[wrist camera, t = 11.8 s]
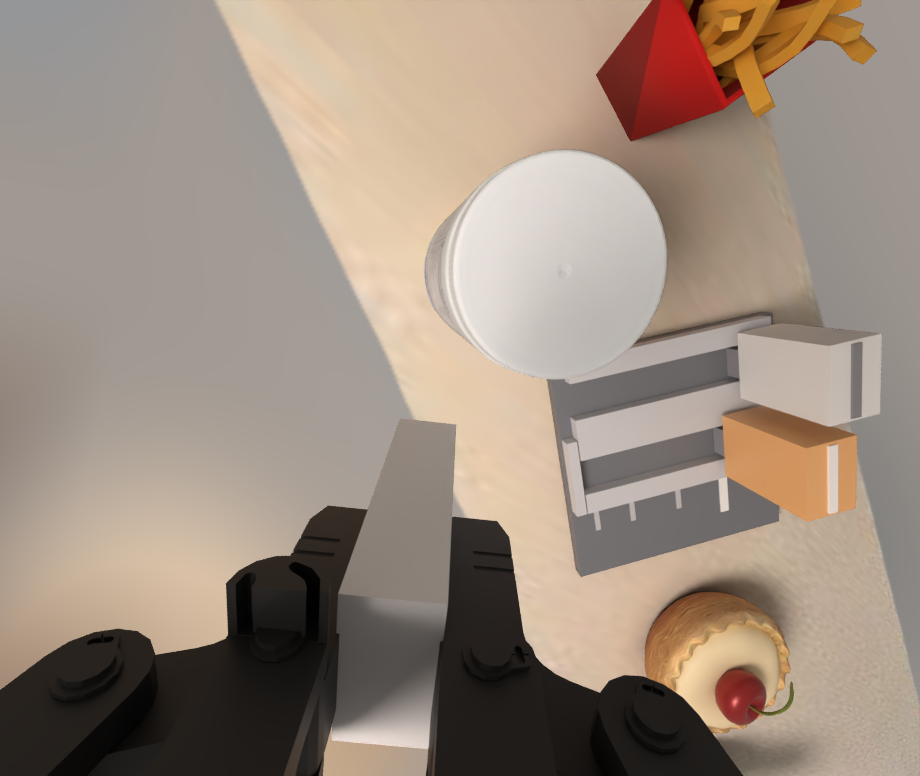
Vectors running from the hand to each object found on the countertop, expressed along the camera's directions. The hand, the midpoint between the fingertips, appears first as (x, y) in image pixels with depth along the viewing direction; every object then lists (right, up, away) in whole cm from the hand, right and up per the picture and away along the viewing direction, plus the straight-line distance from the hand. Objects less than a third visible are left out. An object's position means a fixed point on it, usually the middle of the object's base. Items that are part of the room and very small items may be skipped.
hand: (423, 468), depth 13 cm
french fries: (+13, +21, +20) cm, 32 cm away
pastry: (+22, -20, +31) cm, 43 cm away
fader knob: (+23, -2, +25) cm, 34 cm away
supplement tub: (+3, +10, +21) cm, 23 cm away
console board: (+18, -2, +26) cm, 31 cm away
